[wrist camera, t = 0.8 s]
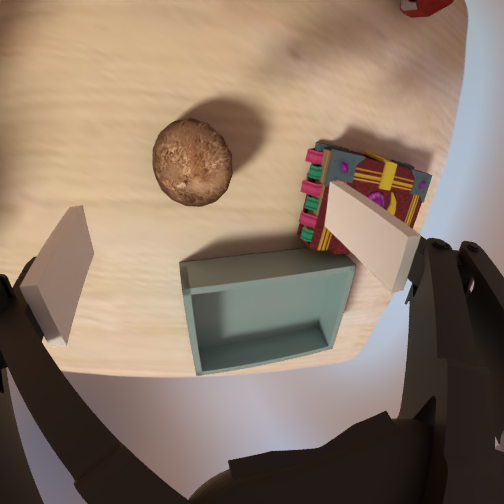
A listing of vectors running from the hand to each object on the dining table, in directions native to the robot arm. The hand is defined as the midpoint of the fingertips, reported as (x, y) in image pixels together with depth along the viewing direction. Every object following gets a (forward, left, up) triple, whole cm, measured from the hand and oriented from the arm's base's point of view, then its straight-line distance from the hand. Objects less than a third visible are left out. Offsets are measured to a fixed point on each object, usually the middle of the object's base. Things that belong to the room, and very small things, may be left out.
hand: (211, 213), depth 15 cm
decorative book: (+19, -5, -15) cm, 25 cm away
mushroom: (0, 0, -15) cm, 15 cm away
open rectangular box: (+8, -19, -15) cm, 26 cm away
